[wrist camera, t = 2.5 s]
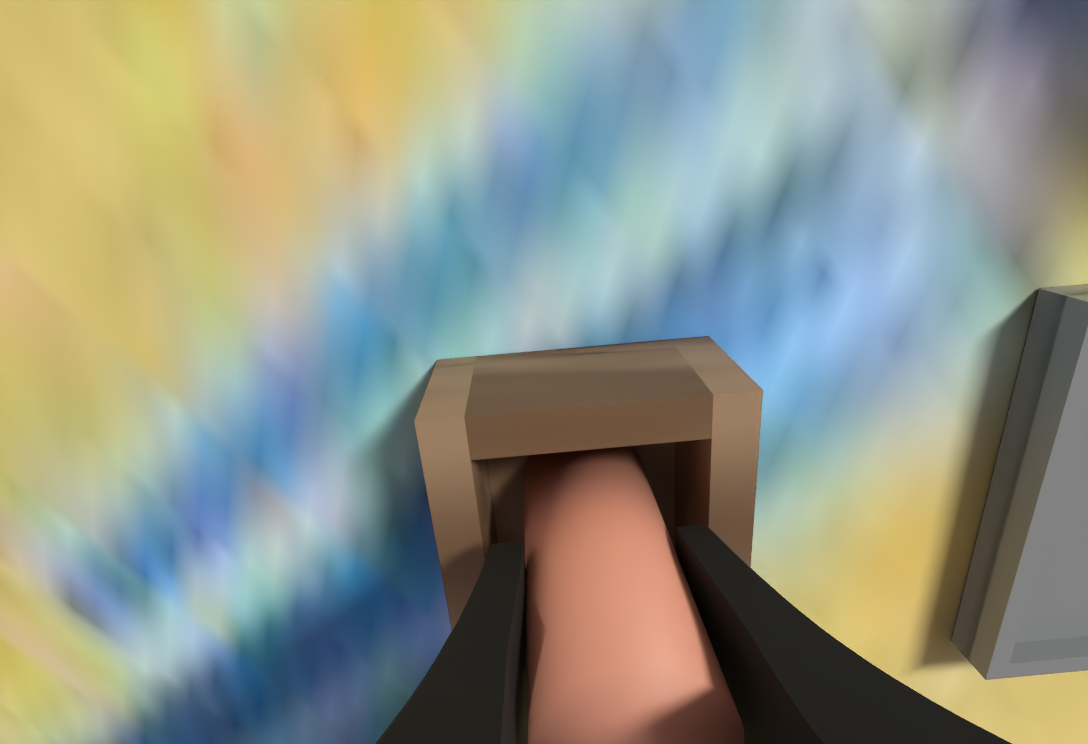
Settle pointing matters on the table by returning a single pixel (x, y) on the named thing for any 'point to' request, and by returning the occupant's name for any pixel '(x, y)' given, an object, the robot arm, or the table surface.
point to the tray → (1036, 510)
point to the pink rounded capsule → (612, 613)
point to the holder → (586, 439)
